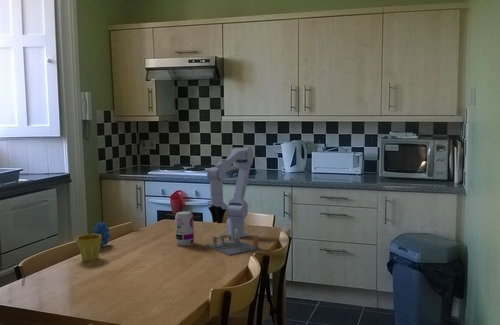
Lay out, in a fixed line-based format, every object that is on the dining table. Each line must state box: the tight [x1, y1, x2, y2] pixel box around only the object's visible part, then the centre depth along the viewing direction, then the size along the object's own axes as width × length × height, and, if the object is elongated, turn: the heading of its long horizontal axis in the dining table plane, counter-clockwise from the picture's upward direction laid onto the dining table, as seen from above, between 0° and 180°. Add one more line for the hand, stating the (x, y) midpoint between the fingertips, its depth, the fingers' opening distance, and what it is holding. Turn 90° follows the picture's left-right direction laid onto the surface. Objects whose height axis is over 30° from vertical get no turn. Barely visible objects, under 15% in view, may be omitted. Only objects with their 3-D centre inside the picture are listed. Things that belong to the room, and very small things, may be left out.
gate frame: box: [205, 229, 261, 256], centre depth 235 cm, size 21×16×7 cm
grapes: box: [92, 221, 111, 248], centre depth 243 cm, size 12×7×12 cm, turn 160°
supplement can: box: [174, 210, 195, 247], centre depth 243 cm, size 8×8×15 cm
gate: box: [212, 233, 236, 247], centre depth 236 cm, size 11×1×4 cm, turn 124°
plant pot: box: [75, 233, 102, 262], centre depth 224 cm, size 10×10×10 cm
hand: (217, 222), depth 240 cm, fingers open, 3 cm apart
